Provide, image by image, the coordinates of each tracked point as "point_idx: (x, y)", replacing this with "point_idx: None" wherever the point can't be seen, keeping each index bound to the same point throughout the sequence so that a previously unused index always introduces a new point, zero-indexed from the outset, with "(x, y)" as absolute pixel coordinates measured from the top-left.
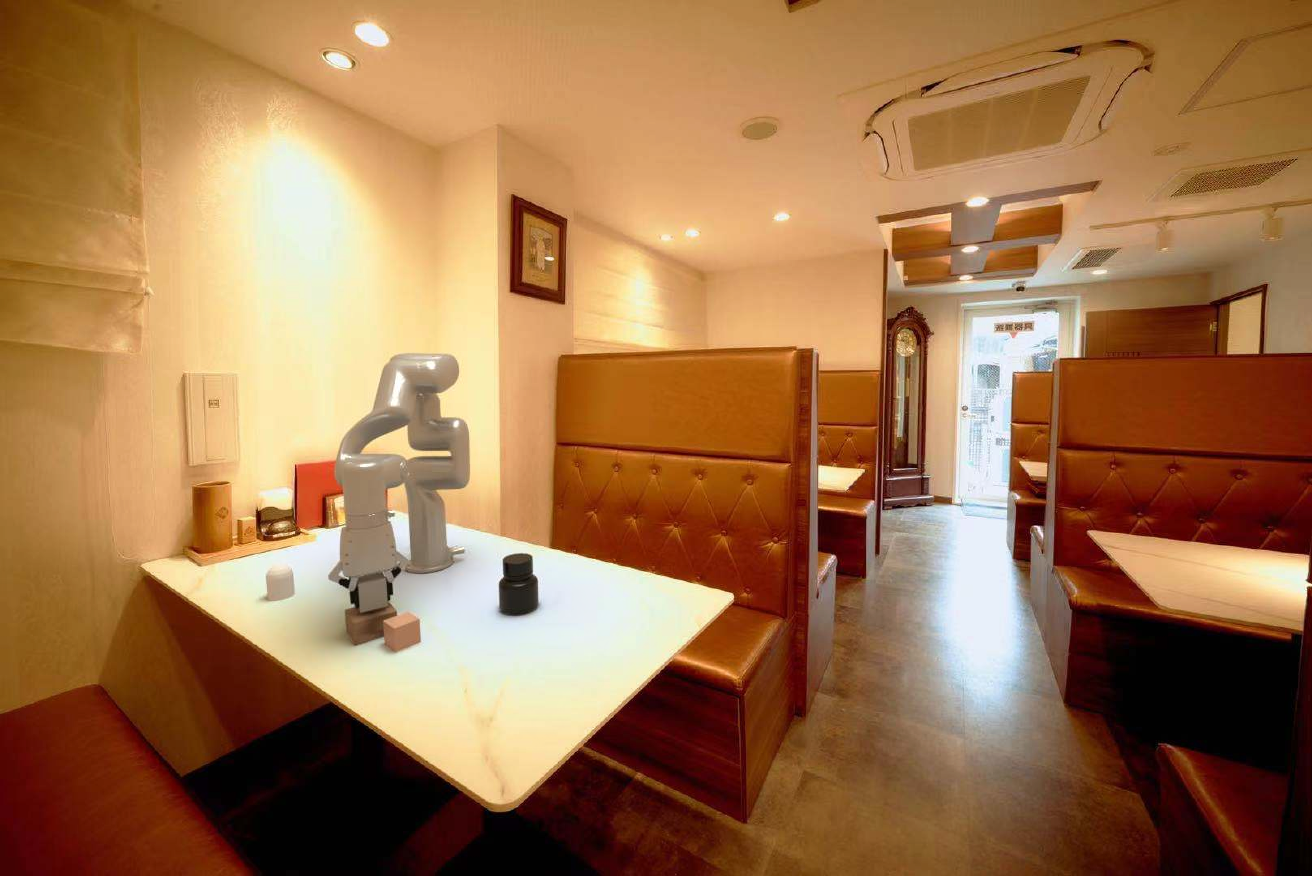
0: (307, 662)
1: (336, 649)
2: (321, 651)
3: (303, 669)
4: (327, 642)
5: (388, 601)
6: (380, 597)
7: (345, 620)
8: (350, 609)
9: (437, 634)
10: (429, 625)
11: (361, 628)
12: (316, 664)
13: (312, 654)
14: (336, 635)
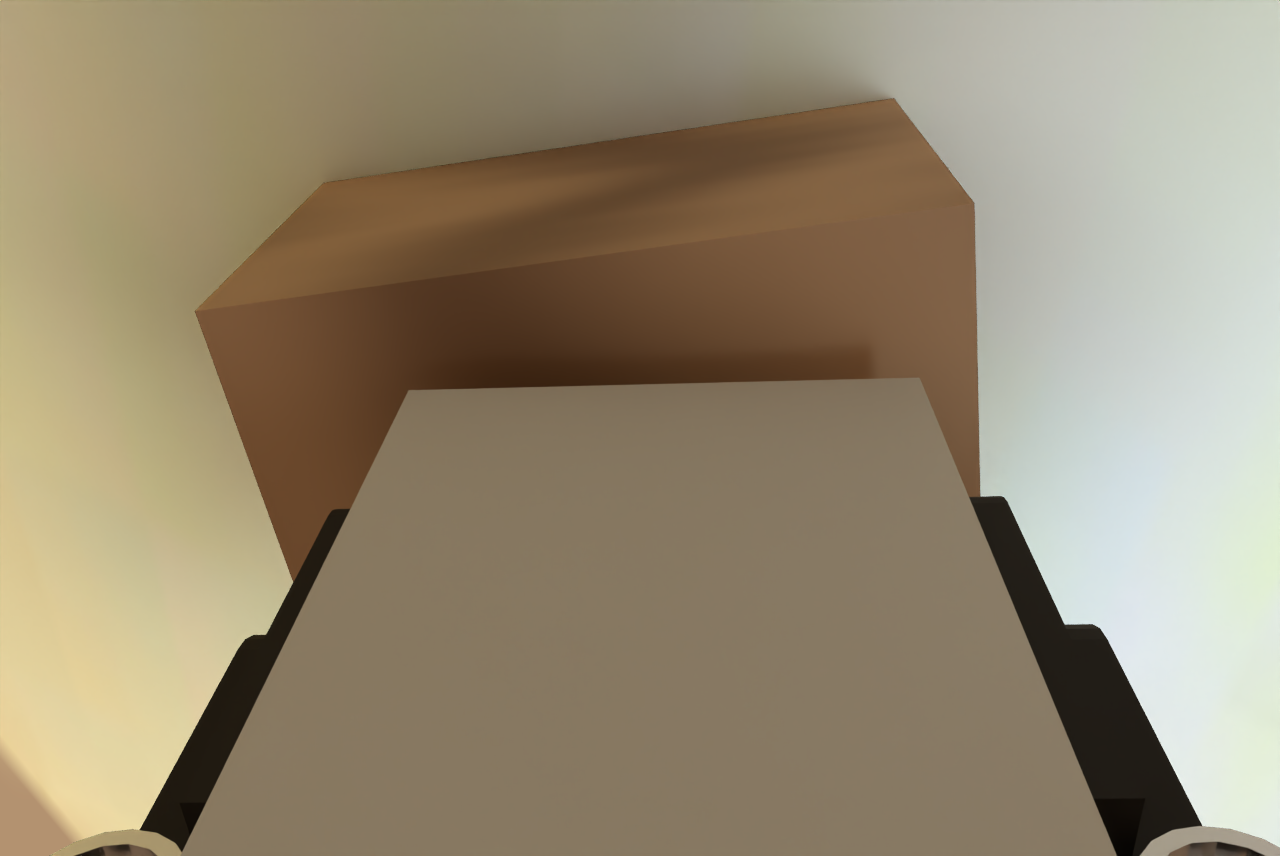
0: (36, 691)
1: (269, 596)
2: (119, 556)
3: (38, 783)
4: (137, 382)
5: (969, 393)
6: None
7: (270, 239)
8: (299, 366)
9: (1245, 829)
10: (1277, 614)
11: None
12: (132, 763)
13: (39, 568)
14: (213, 247)
